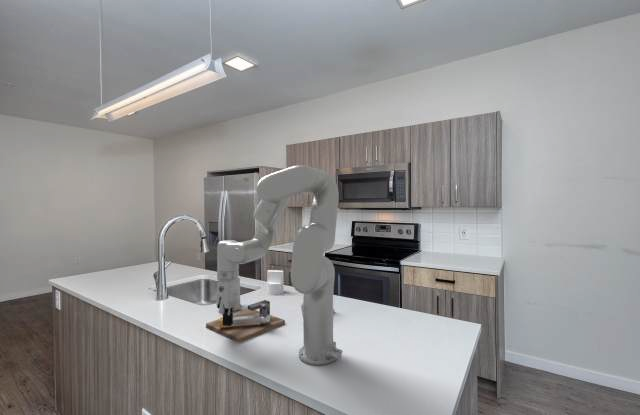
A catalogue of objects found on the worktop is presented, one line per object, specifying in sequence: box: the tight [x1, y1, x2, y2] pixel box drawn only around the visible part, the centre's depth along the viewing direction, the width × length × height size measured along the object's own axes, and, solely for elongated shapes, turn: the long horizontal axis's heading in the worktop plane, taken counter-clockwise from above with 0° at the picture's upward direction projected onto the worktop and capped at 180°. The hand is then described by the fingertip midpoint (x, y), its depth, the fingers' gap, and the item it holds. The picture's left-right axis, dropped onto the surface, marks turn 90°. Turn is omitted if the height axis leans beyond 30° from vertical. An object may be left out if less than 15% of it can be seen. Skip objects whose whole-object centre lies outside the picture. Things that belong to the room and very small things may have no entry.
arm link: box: [218, 303, 271, 328], centre depth 117 cm, size 19×4×8 cm, turn 100°
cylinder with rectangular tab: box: [266, 269, 285, 296], centre depth 166 cm, size 9×9×12 cm
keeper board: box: [205, 299, 286, 344], centre depth 121 cm, size 22×22×8 cm
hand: (227, 324), depth 110 cm, fingers closed
